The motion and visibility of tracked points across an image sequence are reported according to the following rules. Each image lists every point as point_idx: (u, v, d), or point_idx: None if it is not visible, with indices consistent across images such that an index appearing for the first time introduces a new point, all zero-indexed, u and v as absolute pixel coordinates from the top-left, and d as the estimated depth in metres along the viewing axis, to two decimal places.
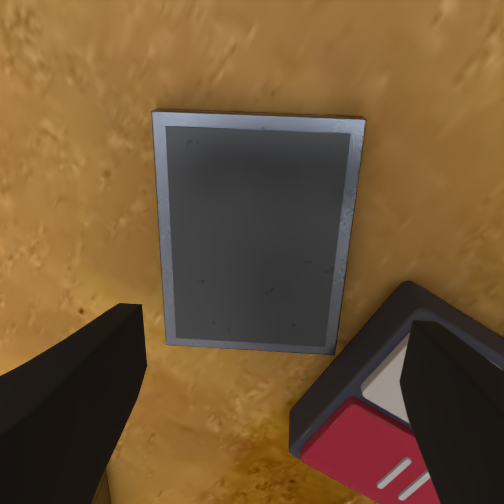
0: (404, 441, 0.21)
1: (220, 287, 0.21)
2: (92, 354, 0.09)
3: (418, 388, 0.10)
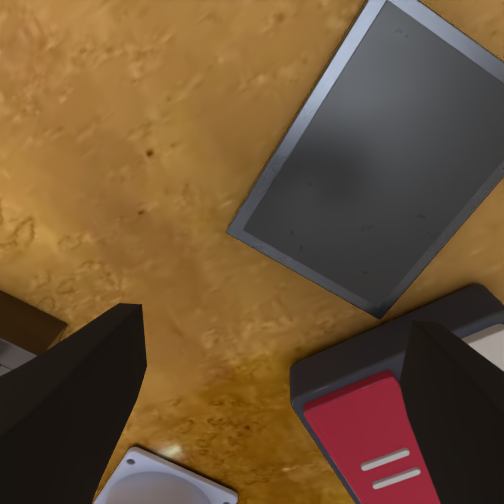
0: None
1: (321, 199, 0.19)
2: (92, 354, 0.09)
3: (418, 388, 0.10)
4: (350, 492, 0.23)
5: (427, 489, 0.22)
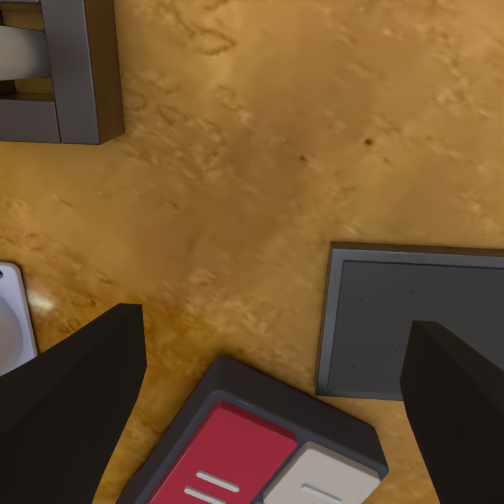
0: (257, 482, 0.23)
1: (400, 306, 0.21)
2: (92, 354, 0.09)
3: (418, 388, 0.10)
4: (157, 475, 0.23)
5: None
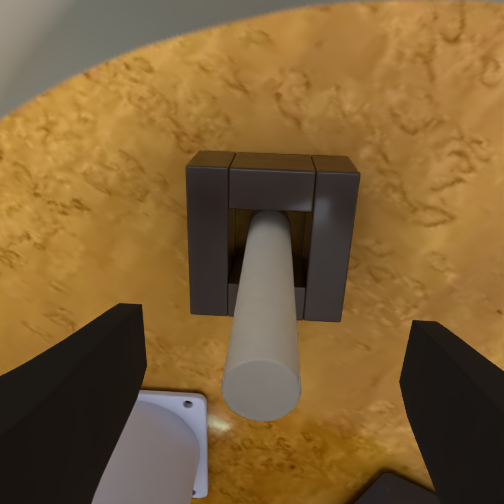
0: None
1: None
2: (92, 354, 0.09)
3: (418, 388, 0.10)
4: None
5: None
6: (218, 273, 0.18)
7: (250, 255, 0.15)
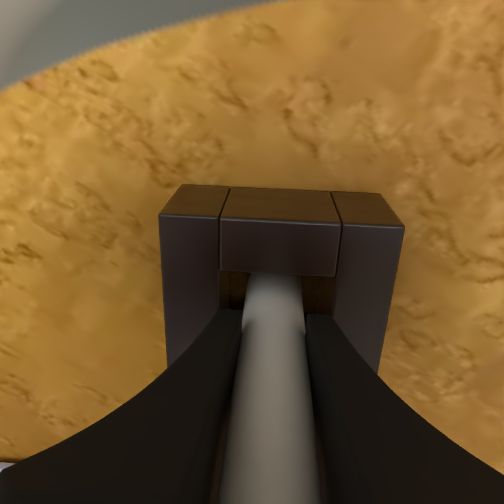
0: None
1: None
2: (224, 362, 0.08)
3: None
4: None
5: None
6: None
7: (247, 349, 0.10)
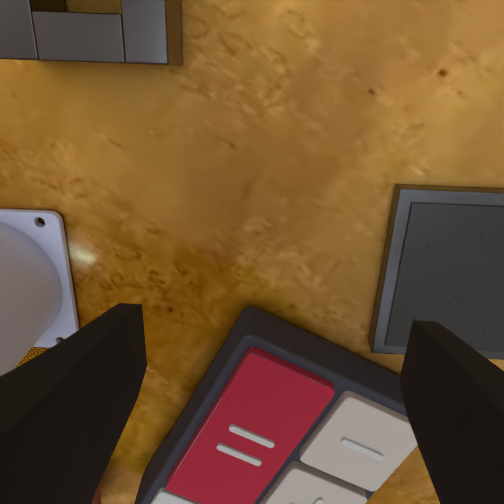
0: (293, 437, 0.22)
1: (468, 252, 0.20)
2: (92, 353, 0.09)
3: (418, 388, 0.10)
4: (187, 433, 0.22)
5: (243, 479, 0.23)
6: None
7: None
